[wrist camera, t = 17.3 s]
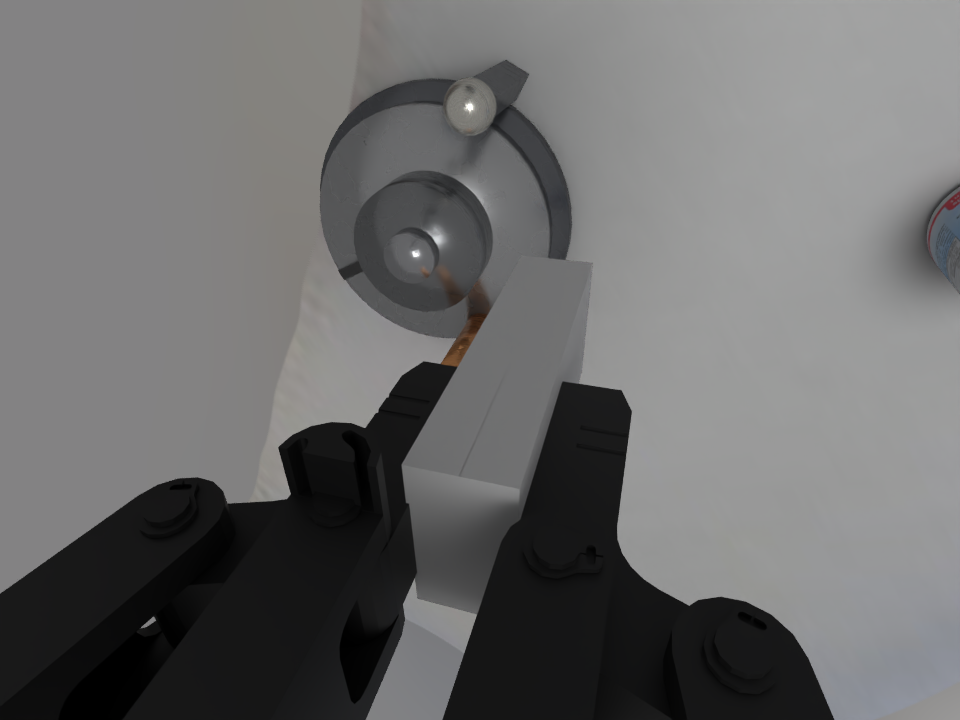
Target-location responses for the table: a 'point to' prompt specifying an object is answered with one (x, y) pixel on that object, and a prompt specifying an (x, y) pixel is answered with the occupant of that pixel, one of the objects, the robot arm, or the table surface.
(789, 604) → the table surface
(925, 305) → the table surface
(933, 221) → the pill bottle
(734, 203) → the table surface
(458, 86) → the post
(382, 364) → the table surface
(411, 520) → the robot arm
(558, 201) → the turntable base
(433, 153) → the platter
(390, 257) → the cover
